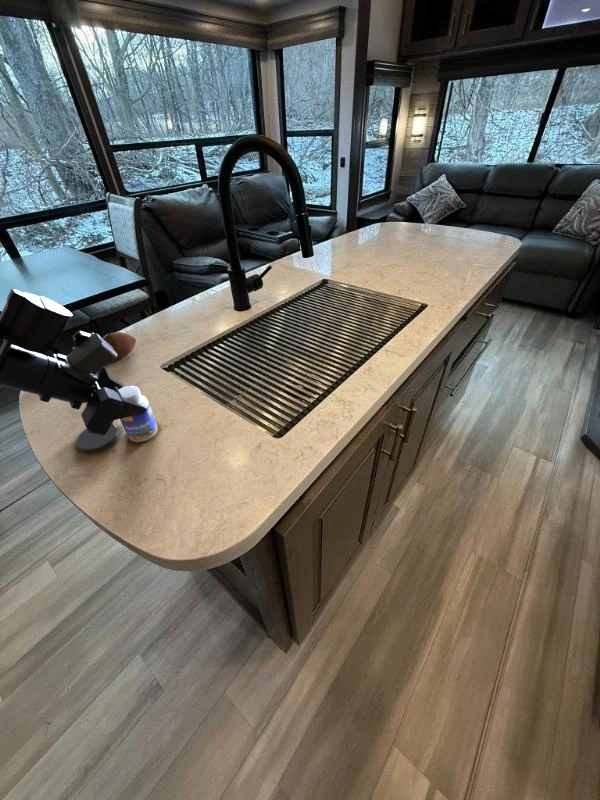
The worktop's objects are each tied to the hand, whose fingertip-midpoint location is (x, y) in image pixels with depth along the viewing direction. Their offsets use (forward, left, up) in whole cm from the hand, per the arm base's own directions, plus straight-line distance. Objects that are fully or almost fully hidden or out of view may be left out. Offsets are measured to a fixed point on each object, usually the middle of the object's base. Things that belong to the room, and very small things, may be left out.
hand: (140, 403), depth 60 cm
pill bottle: (-1, +1, -7) cm, 7 cm away
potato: (+20, +27, -7) cm, 34 cm away
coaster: (-5, +8, -7) cm, 11 cm away
